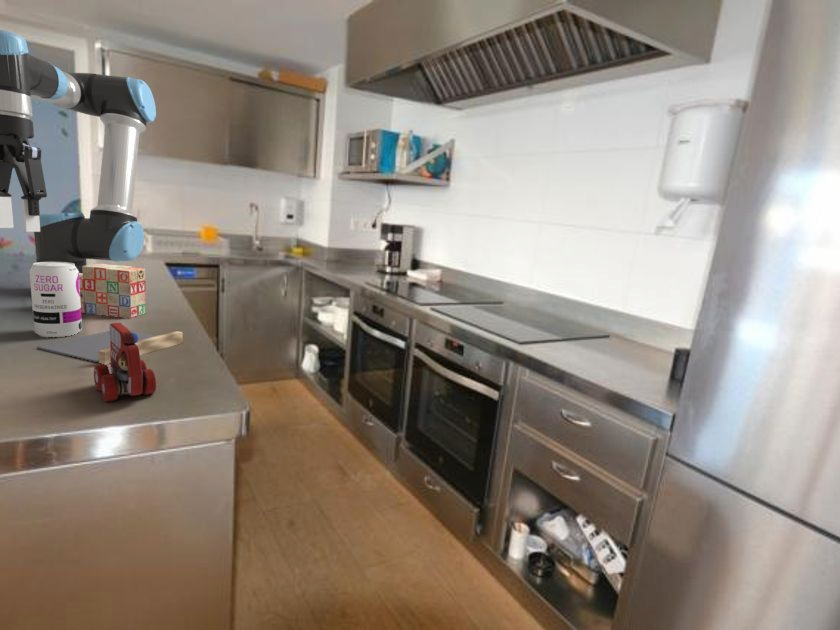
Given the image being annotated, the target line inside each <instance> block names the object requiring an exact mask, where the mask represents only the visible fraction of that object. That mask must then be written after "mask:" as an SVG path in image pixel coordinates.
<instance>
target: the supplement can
mask: <svg viewBox="0 0 840 630" xmlns="http://www.w3.org/2000/svg"><path fill="white" fill-rule="evenodd" d="M29 284H30V294H31V308H32V319H33V320H32V321H33V332H34V333H35V334H37V335H38V337H42V338H48V337H53V338H54V337H57V338H65V336H67V337H71V335H72V336H75V335H78V334H79V333H80V332H81V331H82V330H83V321H82V320H83V319H82V314H81V302H80V285H79V271H78V270H77V268H76V267H75V264H74V263H68V262H38V263H37V262H34V263H32V266H31V268H30V269H29ZM78 332H79V333H78ZM77 333H78V334H77ZM74 334H75V335H74Z"/></svg>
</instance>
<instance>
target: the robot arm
mask: <svg viewBox="0 0 840 630" xmlns="http://www.w3.org/2000/svg"><path fill="white" fill-rule="evenodd" d="M29 51H30V50H29V49H28V43H27V41H26V39H25V38H24V37H23V36H21V35H19V34H17V33H14V32H10V31H7V30H2V29H0V229H14V217H13V204H12V197H11V196H12V194H11V193H9V189H10V185H11V179H12V173H13V170H14V171H15V174H16V177H17V179H18V182H19V185H20V188H21V191H22V193H23V195H22V196H20V199H21V209H22V210H21V211H22V221H23V232H26V233H29V232H31V233H34V234H33V236H34V245H35V248H34V249H35V260H36V263H38V262H68V263H74V264H75V267H76V268H77V270H78V271H79V273H83V271H82V266H87V263H88V262H87V260H98V261H100V260H101V261H112V262H116V263H117V262H131V261H133V260H135V259H137V257H138V256H140V253H141V251H142V250H143V247H144V244H145V234H144V231H145V229H144V227H143V226H142V224H141V223H140V222H139V221H138V217H137V216H136V214H135V213H134V212H133V203H134V197H135V196H134V194H135V187H136V186H135V182H136V175H137V165H138V154H139V144H140V143H139V142H140V134H142V133H144V132H146V130H147V123H149V124H150V123H153V122H155V119H156V116H157V109H156V108H157V107H156V103H155V98H154V96H153V93H152V92H153V91H152V90H151V88H150V86H149V84H147V83H146V82H145V81H144V80H143V79H141V78H132V77H130V76H127V77H125V76H115V75H110V74H109V75H107V74H100V73H98V74H97V73H92V72H91V73H90V72H70V71H69V72H67V71H62V70H61V69H60V68H59V67H56V66H55V65H54V64H52V63H51V62H49V61H46V60H43V59H41V58H38V57H36V56H33V55H32V54H30V52H29ZM32 100H38V101H43V102H48V103H51V104H52V105H54V106H55V107H58V108H60V109H66V110H69V111H72V112H77V113H80V114H84V115H88V116H93V117H97V118H98V117H99V119H100V122H101V123H103V124H104V125H105V127H104V137H103V144H102V145H103V146H102V147H103V148H102V155H101V156H102V158H101V168H100V176H99V177H100V178H99V185H98V187H99V188H98V196H97V205H96V206H95V207H92V209H90V210H89V211H90V212H89V217H88V218H87V217H86V218H85V214H84V213H83V212H61V213H60V212H59V213H57V212H55V213H40V202H39V201H40V200H42V198H47V196H48V193H47V188H46V182H45V176H44V172H43V171H44V170H43V165H42V149H41V147H36V146H31V144H30V142H29V140H30V139H34V138H35V131H34V122H33V121H32V119H30V118H32V117H33V116H34V115H33V113H34V112H33V104H32Z"/></svg>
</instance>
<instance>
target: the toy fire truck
mask: <svg viewBox="0 0 840 630" xmlns="http://www.w3.org/2000/svg"><path fill="white" fill-rule="evenodd" d="M108 331H109V334H110V347H111V348H110V349H111V350H110V357H111V364H110V368H109V366H108V364H107V365H103V364H97V365H95V366H94V368H93V380H94V386H95V388H96V390H97V391H99V392H101V396H102V400H103V402H107V403H108V402H113V401H116V400H117V399H118V398H119V397H118V396H120V395H123V394H124V393H127V394H129V395H130V396H139V395H142V394H143V395H144V396H147V395H153V394H155V393H156V389H157V380H156V375H155V372H154V370H153V369H150V368H149V369H148V368H147V364H146V361H144V360H142V358H141V355H140V353H139V348H138V346H137V345H136V344H135V343H137V342H138V336H137V335H136V334H135V333H132V332H131V331H132V330H131V331H130V329H129V328H127V326H125V325H124V324H122V322H113V323H110V324H109V330H108Z"/></svg>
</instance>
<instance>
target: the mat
mask: <svg viewBox="0 0 840 630" xmlns="http://www.w3.org/2000/svg"><path fill="white" fill-rule="evenodd" d="M129 330H130V329H129ZM109 331H110V330H108V331H104V332H103V331H102V332H99V333H93V334H88V335H85V336H84V335H83V336H79V337H75V338H70V339H66V340H62V341H56V342H53V343H52V342H51V343H47V344H42V345H38V346H36V348H37V349H38V350H42V351H46V352H50V353H54V354H58V355H63V356H66V355H67V357H70V356H72V357H71V358H74V357H77V358H76V359H79V358H81V359H80V360H83V359H85V360H84V361H87V360H89V361H88V362H91V361H94V362H93V363H95V362H99V355H98V351H100V350H104V349H108V348H111V347H110V334H109ZM130 331H131V332H132V333H135V334H136V335H137V336H138V341H140V340H144V339H148V338H152V337H156V336H157V335H155V334H149V333H145V332H139V331H135V330H130Z"/></svg>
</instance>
